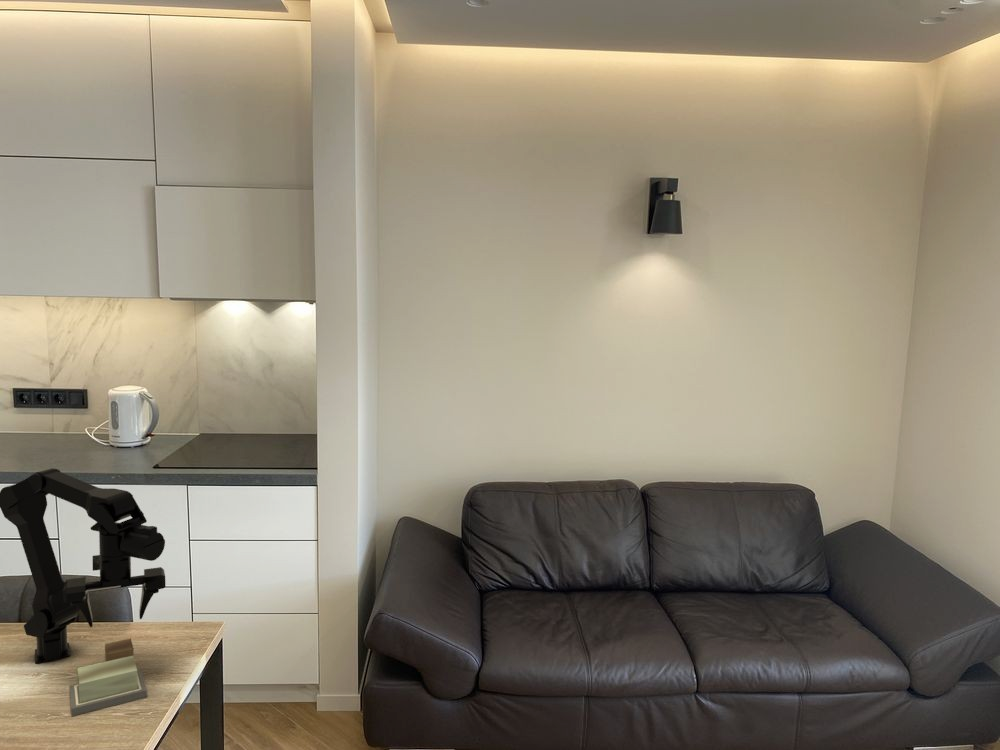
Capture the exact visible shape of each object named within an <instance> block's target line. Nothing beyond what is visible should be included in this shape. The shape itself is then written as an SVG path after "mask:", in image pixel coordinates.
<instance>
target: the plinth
mask: <svg viewBox="0 0 1000 750" xmlns="http://www.w3.org/2000/svg"><path fill="white" fill-rule="evenodd" d="M137 685H138V689H135V690H131V691H127V692H123V693H119V694H115V695H111V696H107V697H103V698H99V699H95V700H91V701H87V702H83V703H80V698H79V689H78V683H75V684H71V685H69V686H68V687H69V688H68V689H69V690H68V691H69V701H70V702H69V703H70V704H69V705H70V712H71V713H70V714H71V717H74V716H78V715H81V714H82V715H83V714H86V713H90V712H94V711H97V710H102V709H105V708H109V707H113V706H117V705H122V704H125V703H128V702H133V701H137V700H140V699H141V700H142V699H145V698H147V697H148V696H147V695H148V693H147V692H148V690H147V686H146V683H145V679H144V675H143V672H142V669H141V668H140V669H137Z"/></svg>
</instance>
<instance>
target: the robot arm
mask: <svg viewBox="0 0 1000 750" xmlns="http://www.w3.org/2000/svg"><path fill="white" fill-rule="evenodd" d="M48 495H51V496H54V497H56V498H59V499H61V500H63V501H66V502H68V503H71V504H72V505H76V506H78V507H80V508H82V509H83V510H85V511H86V513H87V517H89V518H90V519H91V520H94V521H95V524H93V525H92V526H90V530H91V531H94V532H98V534H99V536H98V537H99V541H98V543H99V545H98V546H99V554H96V555H92V571H99V580H98V581H97V580H96V581H91V582H87V577H86V576H85V577H77V578H68V579H67V578H66V581H64V580H63V577H62V574H61V570H60V569H59V565H58V562H57V558H56V555H55V553H54V549H53V546H52V543H51V539H50V536H49V532H48V530H47V527H46V523H45V519H44V518H45V513H46V511H47V508H48V507H47V506H48V501H47V500H48V498H47V496H48ZM0 509H1V510H0V511H1V512H2V515H3V516H4V518H5V519H7V521H9V522H11V524H13V525H14V526H15V527H16V528H17V532H18V534H19V539H20V542H21V544H22V548H23V551H24V553H25V558H26V560H27V563H28V564H27V565H28V566H29V567H28V568H29V570H30V573H31V576H32V579H33V583H34V586H35V594H34V598H33V601H32V603H31V604H32V612H33V615H32V616H31V618H30V619H29V620H27V622H25V624H24V625H23V629H24V632H25V635H26V636H29V637H34V638H36V648H35V649H34V664H35V665H40V664H45V663H49V662H53V661H54V662H55V661H57V660H58V661H59V660H62V659H66V658H67V659H68V658H70V657H71V650H70V648H71V647H70V642H68V626H69V625H71V624H73V623H75V622H76V621H77V619H78V615H79V613H80V611H81V613H82V614H83V616H84V618H85V620H86V622H87V624H88V625H89V627H90V628H93V622H94V621H93V613H92V608H91V604H90V603H91V602H90V601H91V600H90V595H89V593H92V592H98V591H99V592H100V591H106V590H112V589H113V590H114V589H120V588H121V589H122V588H128V587H135V586H140V585H141V593H140V594H141V596H140V603H139V610H138V611H139V612H138V613H139V616H138V617H139V620H142V619H143V617H144V615H145V612H146V609H147V607H148V605H149V602H150V601H151V599H152V597H153V596H154V594H158V593H159V590H163V589H165V588H166V574H165V569H164V568H163V567H161V566H160V567H159V566H158V567H153V568H152V567H151V568H146V569H145V568H144V569H143V574H142V575H135V576H134V575H133V576H132V564H131V563H132V562H131V561H132V559H131V558H136V559H140V560H145V561H151V562H154V561H155V560H157V559H159V558H160V556H161V555H162V554H163V552H164V549H165V546H166V540H165V538H164V535H163V534H162V533H161V532H158V527H157V526H153V525H144V524H147V522H148V521H147V518H146V517H145V513H144V512H143V511H142V510H141V508H140V506H139V505H138V503H137V502H136V500H135V498H134V495H133V494H132V493H131V492H130V491H128V490H124V489H119V488H102V487H97V486H95V485H92V484H91V483H88V482H86V481H83V480H81V479H78V478H76V477H73V476H71V475H68V474H66V473H64V472H61V470H60V469H58V468H55V467H54V468H53V467H52V468H47V469H44V470H39V471H36V472H34V473H32V474H31V475H30V476H29V477H27V478H25V479H23V480H21V481H19V482H16V483H14V484H11V485H7V486H4V487H3V488H1V490H0ZM129 517H131V518H129ZM127 518H129V519H127ZM124 519H126V520H124ZM122 520H123V521H122ZM119 521H121V522H119Z"/></svg>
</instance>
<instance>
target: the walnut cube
mask: <svg viewBox="0 0 1000 750" xmlns="http://www.w3.org/2000/svg"><path fill="white" fill-rule="evenodd" d="M134 654H135V653H134V646H133V641H132V638H126V639H122V640H117V641H113V642H108V643H104V655H105V656H104V658H105V661H104V662H106V661H111V660H115V659H120V658H124V657H129V656H135V655H134Z"/></svg>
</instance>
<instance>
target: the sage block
mask: <svg viewBox="0 0 1000 750" xmlns="http://www.w3.org/2000/svg"><path fill="white" fill-rule="evenodd" d="M134 656H135V655H134ZM134 656H129V657H124V658H120V659H115V660H111V661H106V662H105V661H103V662H98V663H94V664H89V665H85V666H81V667H77V684H78V689H79V698H80V703H83V702H87V701H91V700H95V699H99V698H103V697H107V696H111V695H115V694H119V693H123V692H127V691H131V690H135V689H138V685H137V670H138V669H137V665H136V661H135V657H134Z"/></svg>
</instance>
